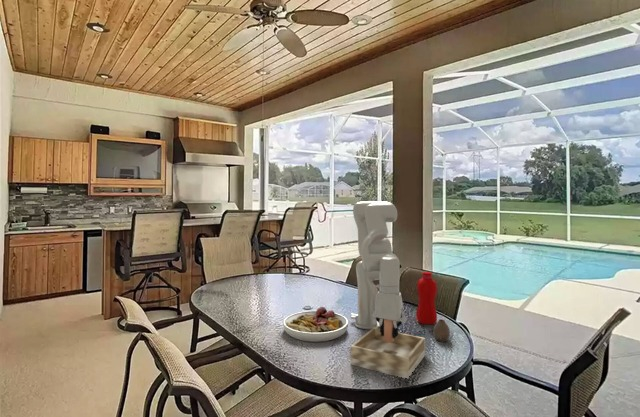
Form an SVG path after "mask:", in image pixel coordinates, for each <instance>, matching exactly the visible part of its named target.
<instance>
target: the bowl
mask: <svg viewBox="0 0 640 417" xmlns="http://www.w3.org/2000/svg"><path fill="white" fill-rule="evenodd" d="M282 325H283V329H284V331H285V332H286V334H287V335H288V336H290V337H292V338H293V339H296V340H298V341H304V342H309V343H310V342H312V343H314V342H315V343H316V342H317V343H318V342H319V343H320V342H327V341H331V340H335V339H337V338H340V337H341V336H343V335H344V333H346V331H347V329H348V326H349V320H348V319H347V317H345V316H344V315H343V314H339V313H336V312H335V311H334V310H327V309H326V308H325V307H324V306H320V307H318V308H317V309H316V310H307V311H305V310H304V311H300V312H296V313H292V314H290V315H288V316H287V317H285V318H284V320H283V324H282Z"/></svg>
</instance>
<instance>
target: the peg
mask: <svg viewBox="0 0 640 417" xmlns="http://www.w3.org/2000/svg"><path fill="white" fill-rule="evenodd" d="M393 327H394V324H393V321H391V320H386V319H384V341H386V342H393V341H394V338H393Z"/></svg>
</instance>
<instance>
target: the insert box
mask: <svg viewBox="0 0 640 417" xmlns="http://www.w3.org/2000/svg"><path fill="white" fill-rule="evenodd" d="M425 356H426V338H425V337H423V336H417V335H412V334H408V333H403V332H398V336H396V337H395V338H394V341H393V342H386V341H384V335H383V336H381V333H380V328H372V329H369V330H368V331H367V332H366V333H365V334H364V335H363V336H361V337H360V338H358V340H356V341H355V342H354V343H352V344H351V345H350V365H352V366H355V367H358V368H359V367H360V368H364V369H368V370H371V371H374V370H375V372H378V371H379V373H382V374H387V375H391V376H393V375H394V376H393V377H397V376H398V378H401V377H402V378H401V379H405V378H407V379H406V380H409V378H410V377H411V376H412V374H413V373H414V371H415V370H416V369H415V368H417V367H418V366H419V365H420V363H421V361H422V360H423V359H424V357H425ZM412 372H413V373H412ZM409 376H410V377H409Z"/></svg>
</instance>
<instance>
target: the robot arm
mask: <svg viewBox="0 0 640 417" xmlns="http://www.w3.org/2000/svg"><path fill="white" fill-rule="evenodd" d="M352 208H353V209H352V213H353V219H354V222H355V225H356V229H357V243H358V244H357V245H358V246H357V248H358V249H357V250H358V254H359V256H360V257H361V261H358V262H357V263H356V265H355V272H356V280H357V314H356V313H352V312H351V314H350V319H351V320H354V323H353V324H354V326H355V327H356V328H359V329H361V330H368V331H370V330H371V329H372V328H378V329H380V333H381V336H383V335H384V319H386V320H391V321H393V324H394V327H393V338H395V337H396V336H398V333H399V327H400V326H401V325H403V324H405V323H407V321H408V319H407V317H406V315H405V313H404V304H403V298H402V293H401V292H400V269H401V268H400V267H401V266H400V259H399V258H398V256H397V254H395V253H393V251H392V250H393V249H392V248H393V247H392V243H391V241H390V239H389V238H387V237H388V235H389V229H388V225H387V223H395V222H396V221H397V219H398V210H397V208H396V206H395V204H393V203H392V202H389V201H385V200H383V201H379V200H378V201H374V200H367V201H358V202H356V203H355V204H353V207H352ZM373 281H379V284H378V283H377V284H374V282H373Z"/></svg>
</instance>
